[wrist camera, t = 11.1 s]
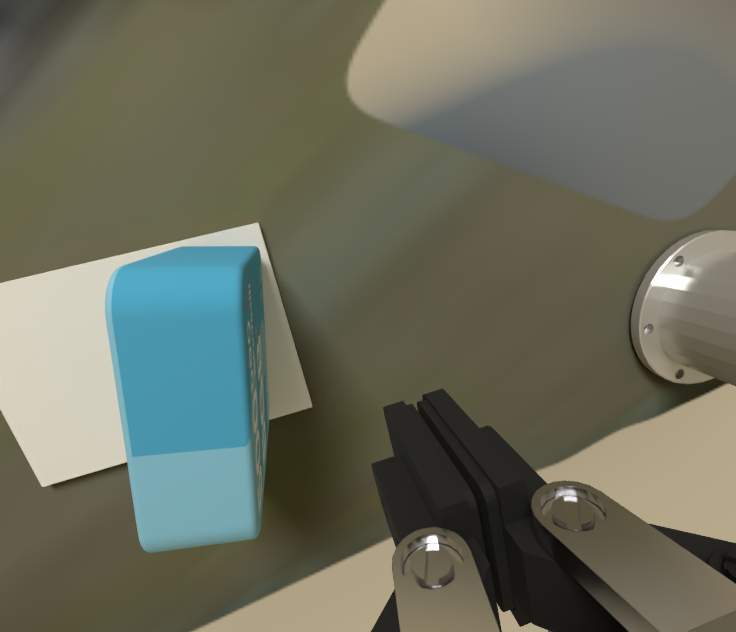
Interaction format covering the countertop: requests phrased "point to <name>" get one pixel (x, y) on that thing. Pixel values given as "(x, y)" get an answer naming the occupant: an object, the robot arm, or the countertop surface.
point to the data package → (192, 392)
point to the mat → (102, 360)
